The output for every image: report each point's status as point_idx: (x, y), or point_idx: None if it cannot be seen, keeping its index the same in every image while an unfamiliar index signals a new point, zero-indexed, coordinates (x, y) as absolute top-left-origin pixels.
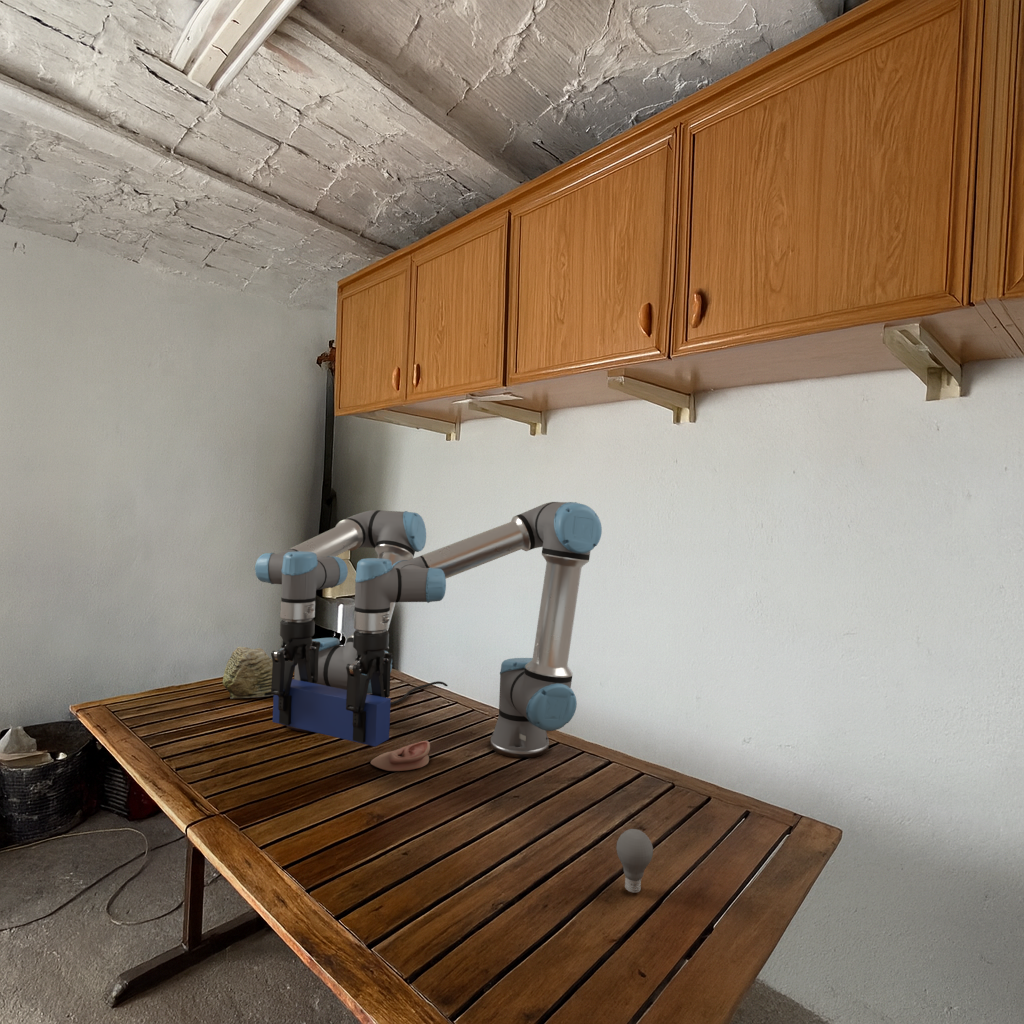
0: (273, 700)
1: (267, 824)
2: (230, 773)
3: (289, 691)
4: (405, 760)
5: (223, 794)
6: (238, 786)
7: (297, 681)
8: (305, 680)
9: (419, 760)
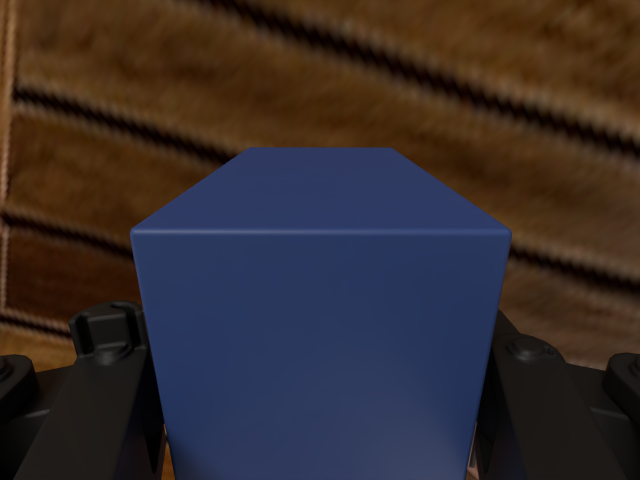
0: (209, 176)
1: (57, 352)
2: (179, 5)
3: (162, 465)
4: (469, 471)
5: (67, 128)
6: (132, 125)
7: (417, 417)
8: (489, 478)
9: None
